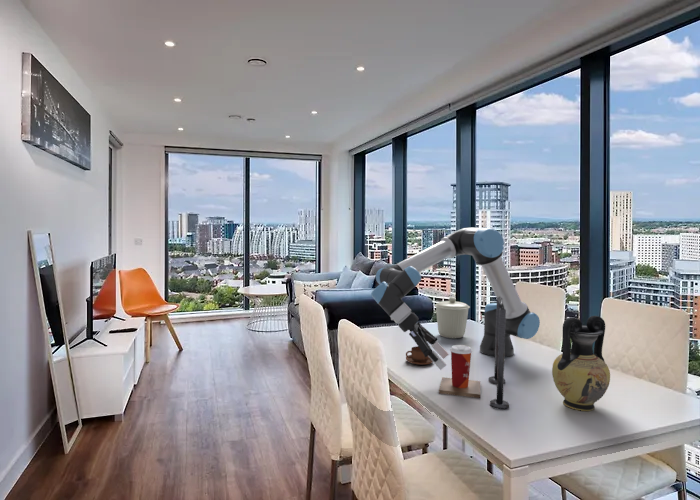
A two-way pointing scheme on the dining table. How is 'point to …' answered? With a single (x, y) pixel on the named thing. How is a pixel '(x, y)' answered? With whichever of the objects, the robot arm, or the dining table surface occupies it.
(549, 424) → the dining table surface
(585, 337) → the amphora
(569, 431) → the dining table surface
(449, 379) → the walnut board
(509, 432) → the dining table surface
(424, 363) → the cup and saucer
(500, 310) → the frame
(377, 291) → the robot arm
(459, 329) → the canister
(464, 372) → the paper cup
